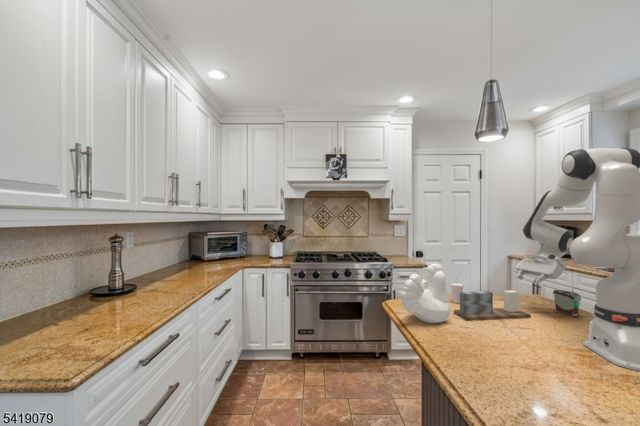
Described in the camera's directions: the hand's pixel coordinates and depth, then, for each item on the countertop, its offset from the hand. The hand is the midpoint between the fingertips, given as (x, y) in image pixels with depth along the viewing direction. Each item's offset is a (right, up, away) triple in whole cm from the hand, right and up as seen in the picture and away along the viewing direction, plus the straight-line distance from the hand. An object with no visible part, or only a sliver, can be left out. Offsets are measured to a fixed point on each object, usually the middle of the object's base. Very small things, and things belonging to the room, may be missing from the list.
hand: (527, 280), depth 132 cm
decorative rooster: (-52, -16, -8) cm, 55 cm away
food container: (+20, -16, 0) cm, 26 cm away
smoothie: (-24, -16, +18) cm, 34 cm away
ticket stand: (-19, -16, -2) cm, 24 cm away
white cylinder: (-8, -14, -1) cm, 16 cm away
